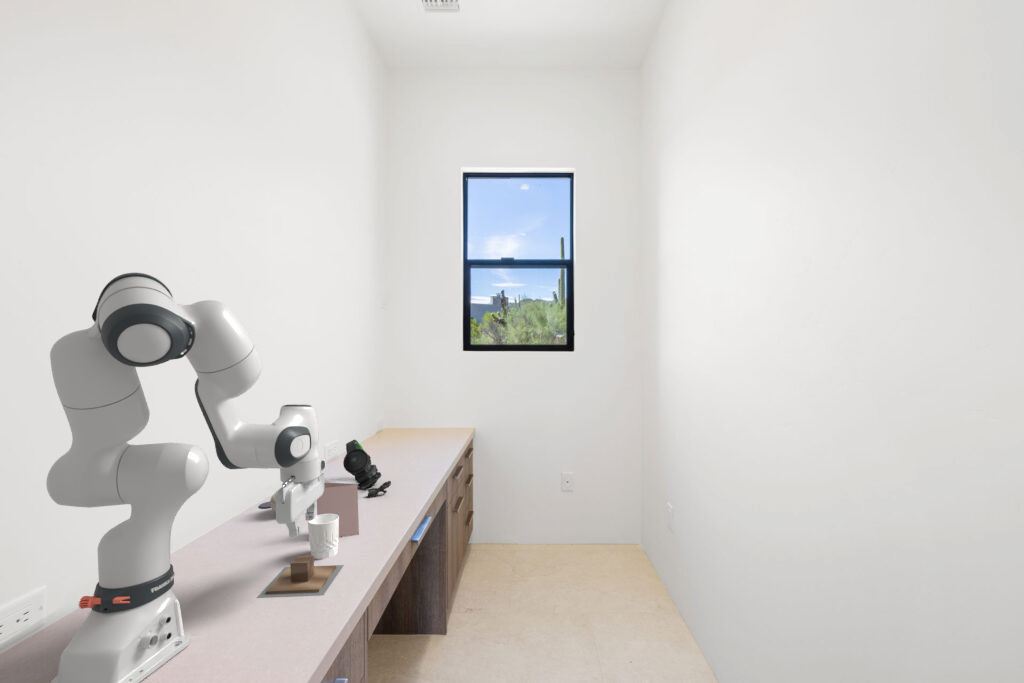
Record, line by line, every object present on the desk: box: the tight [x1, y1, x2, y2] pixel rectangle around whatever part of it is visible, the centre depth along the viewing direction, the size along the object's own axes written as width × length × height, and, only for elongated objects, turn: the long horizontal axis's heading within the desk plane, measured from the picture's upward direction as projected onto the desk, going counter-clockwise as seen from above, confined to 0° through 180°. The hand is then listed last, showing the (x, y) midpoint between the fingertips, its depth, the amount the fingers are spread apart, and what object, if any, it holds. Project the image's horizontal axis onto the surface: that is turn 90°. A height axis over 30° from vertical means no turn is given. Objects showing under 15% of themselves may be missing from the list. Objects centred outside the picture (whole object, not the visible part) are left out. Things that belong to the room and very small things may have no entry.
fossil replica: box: [269, 490, 279, 512], centre depth 171 cm, size 12×8×10 cm
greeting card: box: [316, 481, 360, 538], centre depth 149 cm, size 11×7×15 cm, turn 74°
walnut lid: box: [266, 554, 336, 594], centre depth 121 cm, size 12×12×5 cm
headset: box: [342, 439, 392, 498], centre depth 197 cm, size 18×14×29 cm
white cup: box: [307, 514, 340, 560], centre depth 136 cm, size 8×8×10 cm
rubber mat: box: [256, 564, 344, 599], centre depth 121 cm, size 15×15×1 cm
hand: (302, 527), depth 121 cm, fingers open, 8 cm apart
